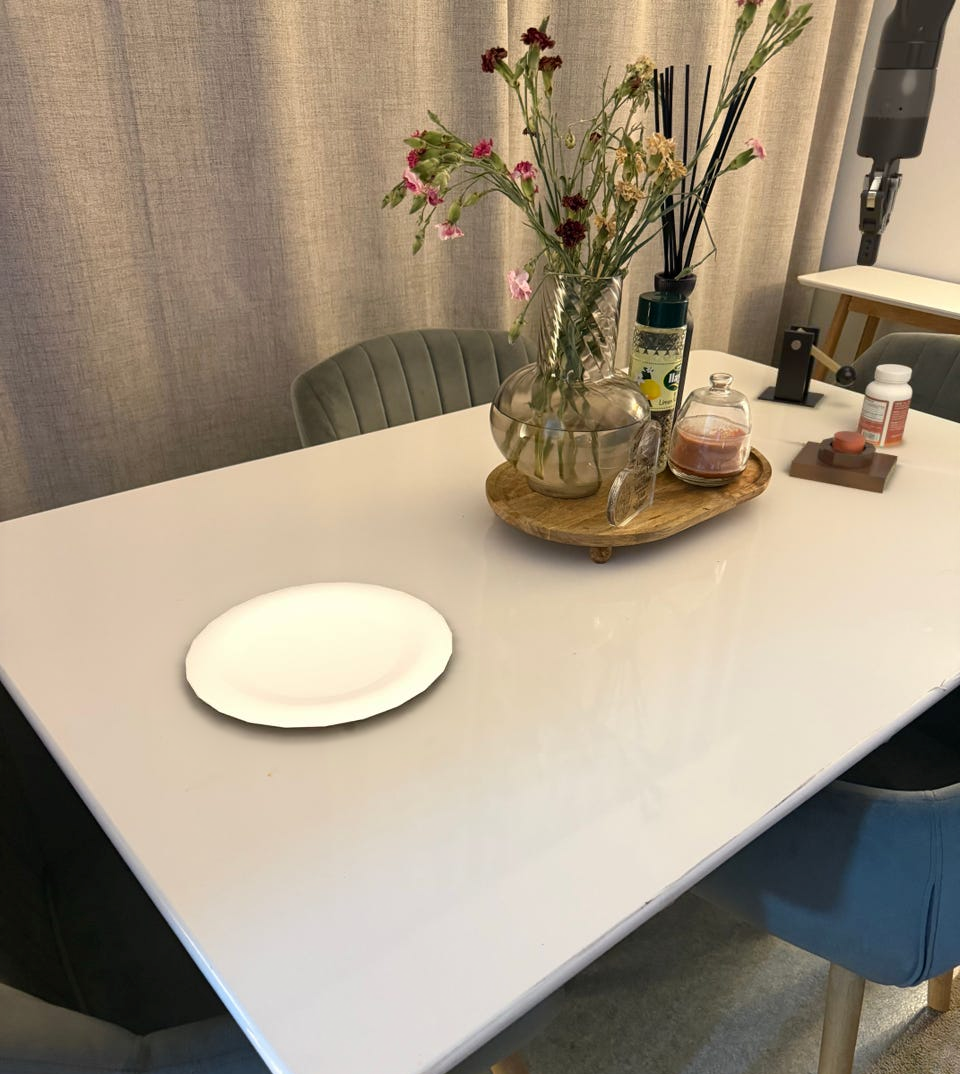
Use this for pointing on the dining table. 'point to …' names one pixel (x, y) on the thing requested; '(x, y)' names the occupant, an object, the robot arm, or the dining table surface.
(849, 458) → the switch box
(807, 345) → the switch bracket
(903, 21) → the robot arm
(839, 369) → the switch lever
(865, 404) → the pill bottle
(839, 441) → the button
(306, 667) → the plate
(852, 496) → the dining table surface
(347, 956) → the dining table surface
